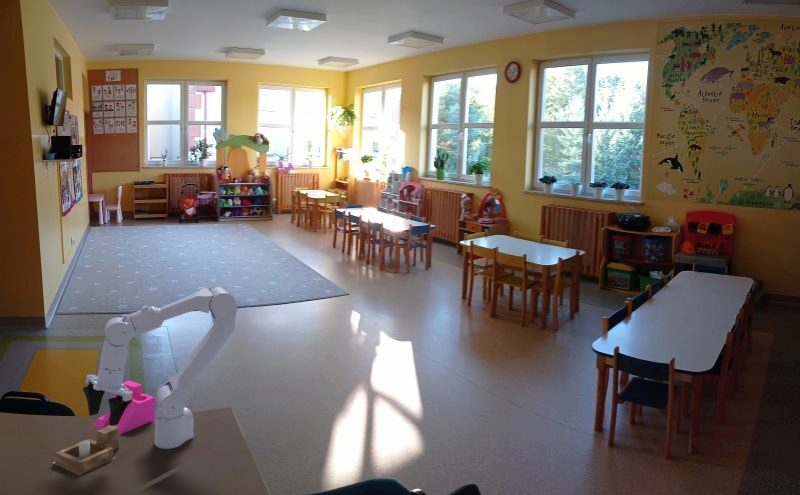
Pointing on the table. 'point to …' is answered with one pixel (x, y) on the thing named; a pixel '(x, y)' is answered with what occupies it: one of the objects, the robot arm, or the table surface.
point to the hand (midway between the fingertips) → (103, 419)
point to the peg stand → (83, 455)
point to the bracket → (132, 410)
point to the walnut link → (101, 450)
